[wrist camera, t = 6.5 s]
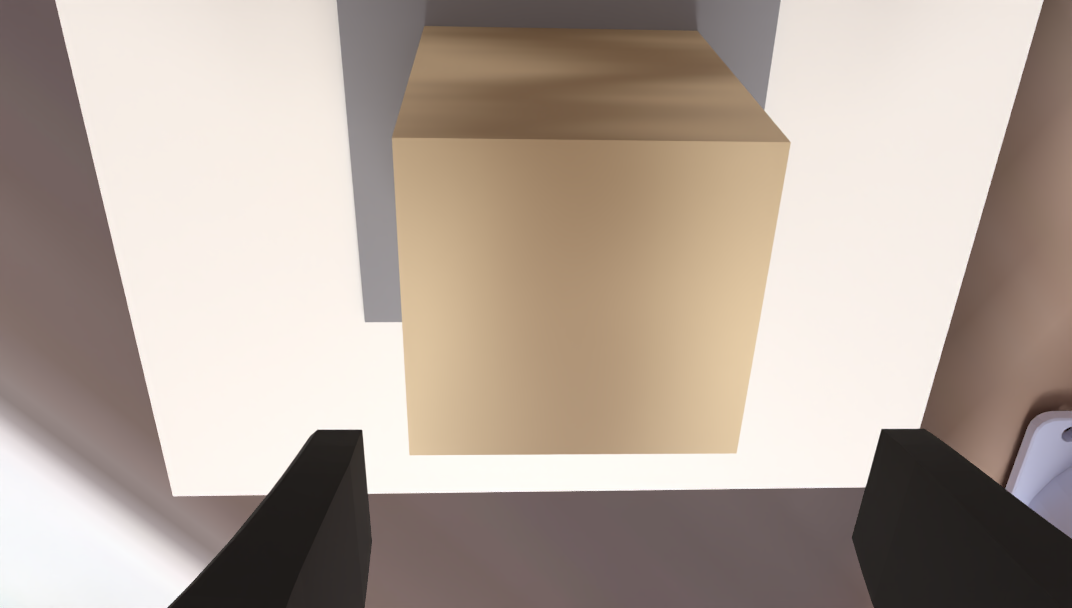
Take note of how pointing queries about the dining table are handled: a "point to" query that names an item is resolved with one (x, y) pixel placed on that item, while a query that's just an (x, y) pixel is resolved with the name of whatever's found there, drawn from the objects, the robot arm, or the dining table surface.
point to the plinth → (371, 229)
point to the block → (580, 241)
